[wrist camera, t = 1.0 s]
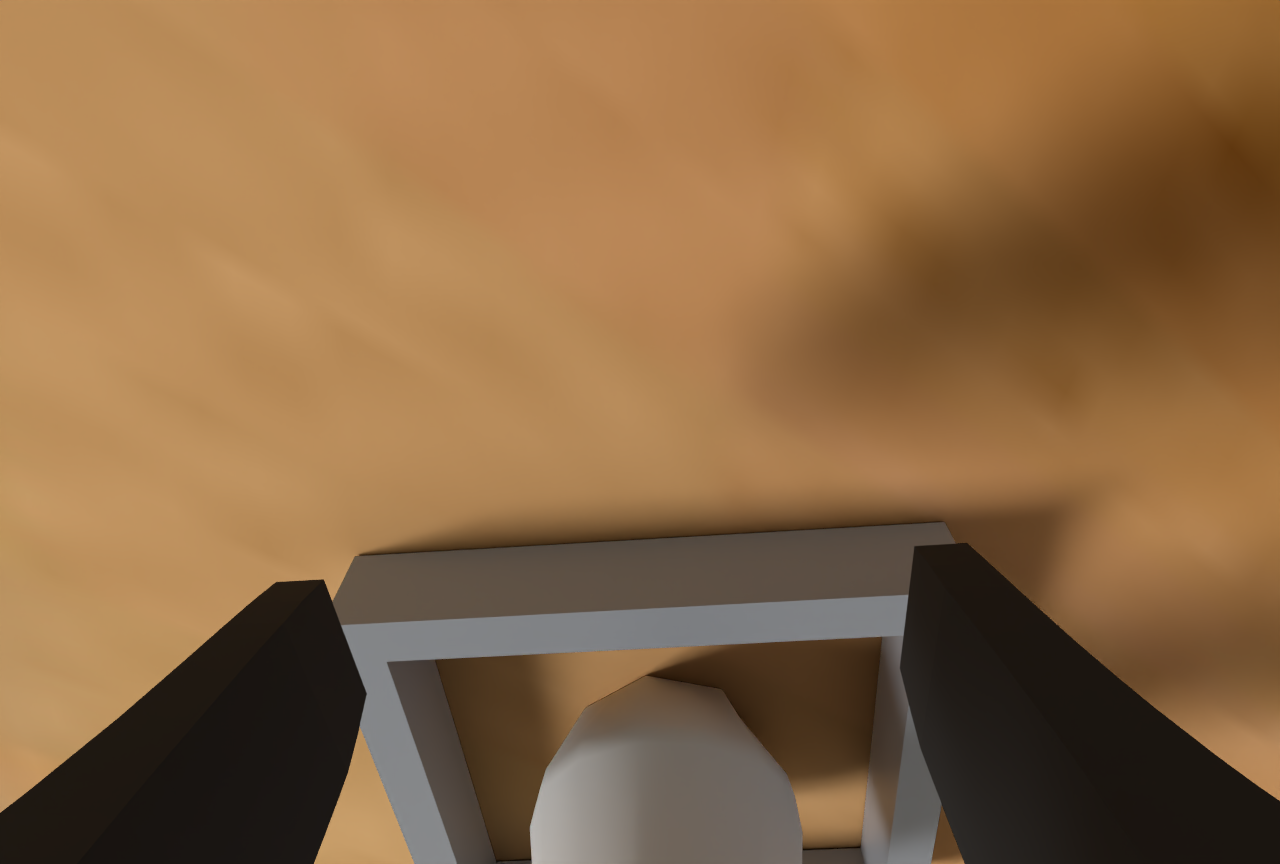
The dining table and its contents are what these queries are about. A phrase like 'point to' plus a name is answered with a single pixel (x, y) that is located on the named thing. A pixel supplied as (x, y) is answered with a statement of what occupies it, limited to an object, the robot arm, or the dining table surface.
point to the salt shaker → (664, 785)
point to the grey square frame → (620, 620)
